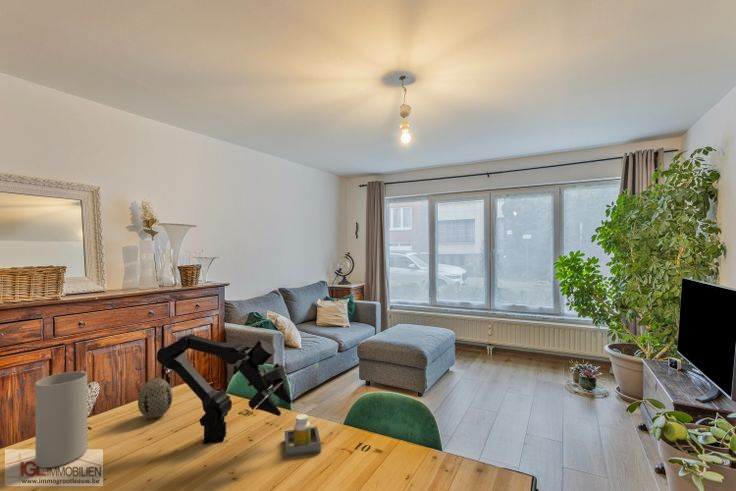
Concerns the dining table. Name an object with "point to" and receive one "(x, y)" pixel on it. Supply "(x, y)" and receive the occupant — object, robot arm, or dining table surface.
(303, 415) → the supplement bottle
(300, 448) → the collar
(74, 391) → the cylinder vase
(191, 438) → the dining table surface
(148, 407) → the decorative egg
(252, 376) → the robot arm
